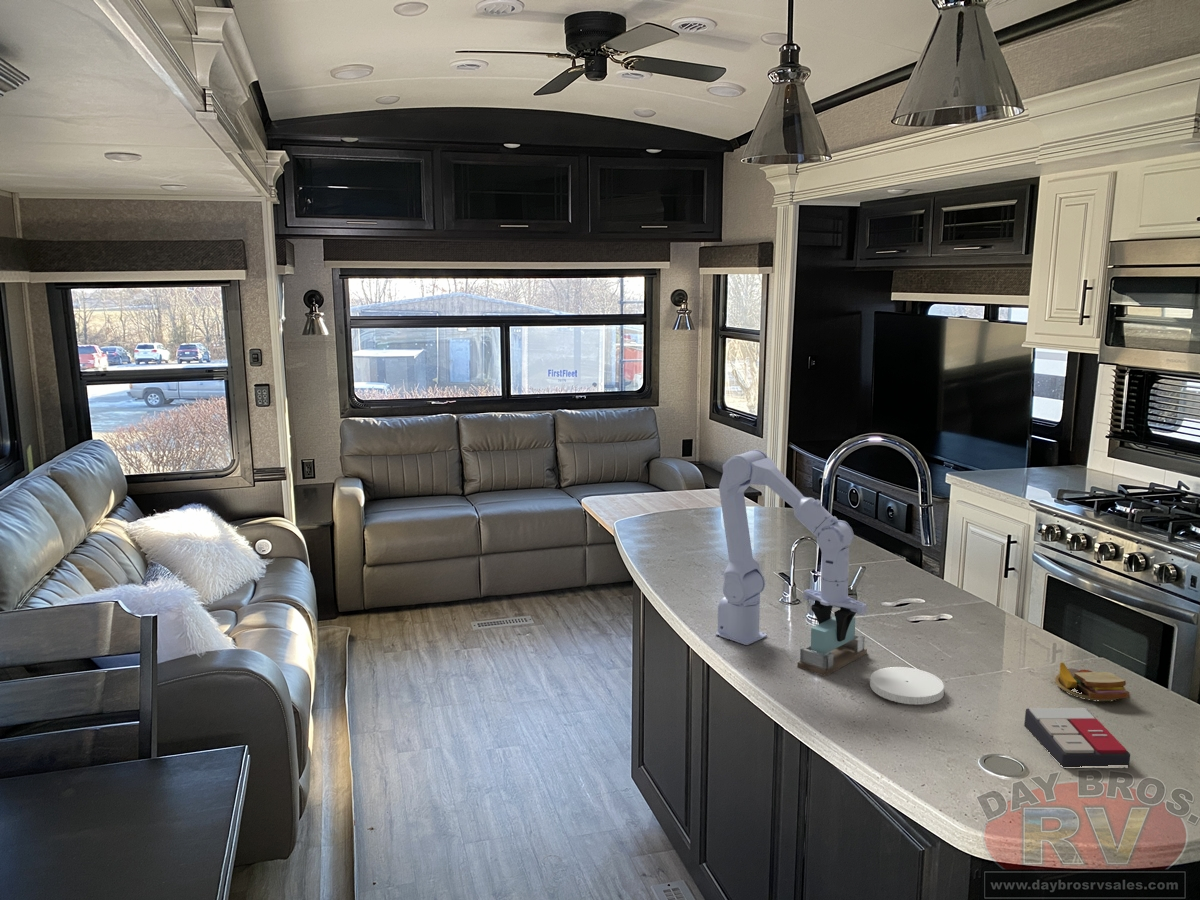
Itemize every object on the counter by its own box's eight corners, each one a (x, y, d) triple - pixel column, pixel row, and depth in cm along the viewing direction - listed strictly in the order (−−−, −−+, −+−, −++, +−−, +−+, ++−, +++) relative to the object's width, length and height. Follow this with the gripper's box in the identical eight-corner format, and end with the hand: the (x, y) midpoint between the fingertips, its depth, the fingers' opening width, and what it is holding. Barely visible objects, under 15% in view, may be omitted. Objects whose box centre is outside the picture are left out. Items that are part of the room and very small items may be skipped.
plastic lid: (876, 707, 171) (876, 695, 171) (864, 676, 185) (865, 665, 185) (951, 710, 169) (952, 698, 169) (934, 679, 183) (935, 668, 183)
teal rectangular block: (810, 649, 190) (811, 627, 189) (841, 634, 198) (841, 613, 197) (824, 654, 187) (824, 632, 186) (854, 638, 195) (855, 617, 194)
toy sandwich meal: (1112, 678, 181) (1114, 657, 180) (1137, 709, 168) (1140, 686, 167) (1046, 675, 184) (1048, 653, 183) (1066, 704, 171) (1068, 681, 170)
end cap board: (797, 666, 190) (797, 662, 190) (839, 644, 201) (839, 640, 201) (825, 676, 185) (825, 671, 185) (866, 653, 196) (866, 649, 196)
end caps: (800, 661, 190) (800, 648, 190) (838, 641, 200) (839, 629, 200) (825, 670, 185) (826, 657, 185) (864, 649, 196) (864, 636, 195)
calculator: (1064, 750, 147) (1025, 704, 162) (1061, 773, 148) (1023, 725, 163) (1132, 750, 147) (1086, 704, 162) (1129, 773, 148) (1084, 725, 163)
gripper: (795, 574, 192) (794, 633, 195) (854, 590, 182) (852, 652, 184) (813, 567, 197) (812, 625, 199) (872, 581, 186) (870, 642, 189)
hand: (833, 637), depth 192 cm, fingers closed on teal rectangular block, 3 cm apart
